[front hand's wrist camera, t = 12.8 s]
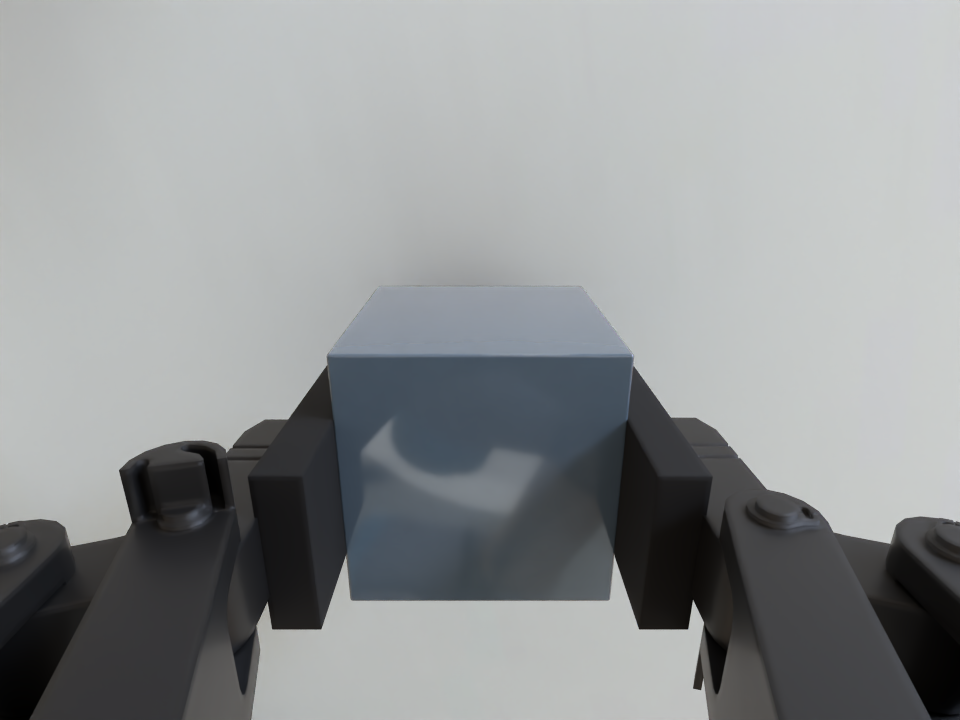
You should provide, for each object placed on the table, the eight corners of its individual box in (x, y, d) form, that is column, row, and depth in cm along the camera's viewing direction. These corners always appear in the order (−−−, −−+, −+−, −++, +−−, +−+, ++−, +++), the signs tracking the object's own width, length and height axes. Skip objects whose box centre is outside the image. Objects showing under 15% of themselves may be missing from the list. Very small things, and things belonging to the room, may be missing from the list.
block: (389, 465, 15) (350, 601, 11) (378, 285, 14) (325, 354, 9) (570, 465, 15) (610, 601, 11) (581, 285, 14) (635, 354, 9)
